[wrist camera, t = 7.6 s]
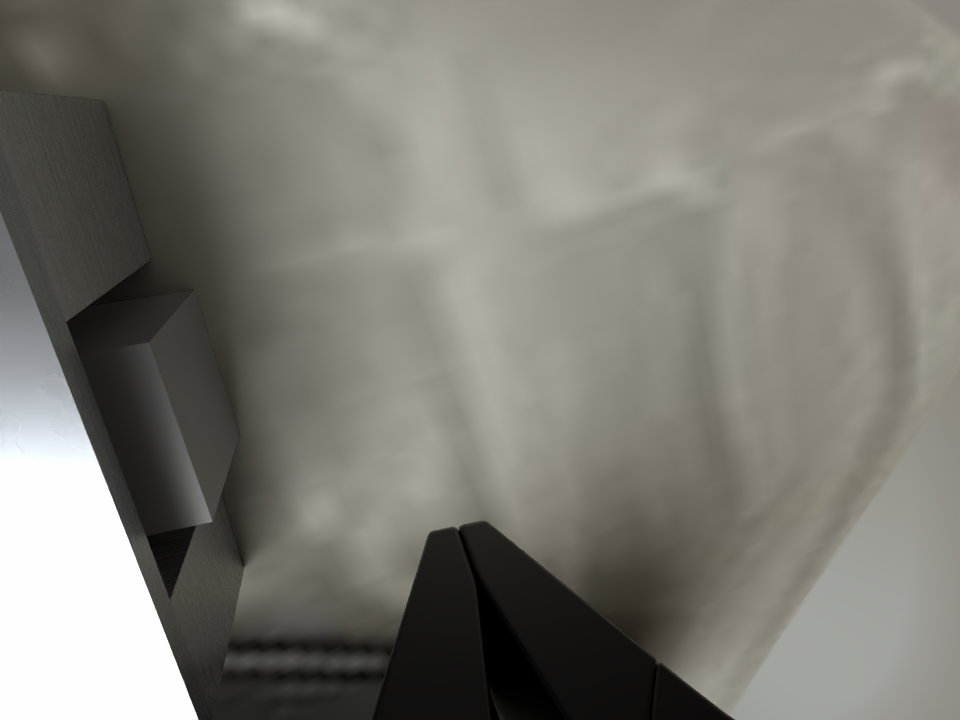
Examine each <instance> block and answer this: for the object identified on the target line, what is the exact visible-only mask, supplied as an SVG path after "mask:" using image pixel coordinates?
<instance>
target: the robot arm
mask: <svg viewBox="0 0 960 720" xmlns="http://www.w3.org/2000/svg"><path fill="white" fill-rule="evenodd" d="M490 692H491V695H490ZM491 696H492V699H493V702H494V705H495V707H496V710H497V713H498V715H497V716H494V717H493V713H492V704H491ZM371 720H734V719H733V718H732V717H730V716H729V715H727V714H726V713H725V712H723V711H722V710H721V709H719V708H718V707H717V706H715V705H714V704H713V703H712V702H710V701H709V700H708V699H706V698H705V697H704V696H702V695H701V694H700V693H699V692H697V691H696V690H695V689H693V688H692V687H691V686H689V685H688V684H687V683H686V682H684V681H683V680H682V679H681V678H679V677H678V676H677V675H676V674H675V673H673V672H672V671H671V670H670V669H668V668H667V667H666V666H665V665H663V664H662V663H658V664H657V660H656V658H654V657H653V656H652V655H651V654H650V653H648V652H647V651H646V650H645V649H643V648H642V647H641V646H640V645H639V644H637V643H636V642H635V641H634V640H632V639H631V638H630V637H629V636H627V635H626V634H625V633H624V632H623V631H621V630H620V629H619V628H618V627H616V626H615V625H614V624H613V623H611V622H610V621H609V620H608V619H607V618H605V617H604V616H603V615H602V614H600V613H599V612H598V611H597V610H595V609H594V608H593V607H592V606H591V605H589V604H588V603H587V602H586V601H584V600H583V599H582V598H581V597H579V596H578V595H577V594H576V593H575V592H573V591H572V590H571V589H570V588H568V587H567V586H566V585H565V584H563V583H562V582H561V581H560V580H559V579H557V578H556V577H555V576H554V575H552V574H551V573H550V572H549V571H547V570H546V569H545V568H544V567H543V566H541V565H540V564H539V563H538V562H536V561H535V560H534V559H533V558H531V557H530V556H529V555H528V554H527V553H525V552H524V551H523V550H522V549H520V548H519V547H518V546H517V545H515V544H514V543H513V542H512V541H511V540H509V539H508V538H507V537H506V536H504V535H503V534H502V533H501V532H499V531H498V530H497V529H496V528H495V527H493V526H492V525H491V524H490V523H488V522H486V521H478V522H473V523H468V524H464V525H461V526H460V527H459V530H458V529H457V528H455V527H449V528H444V529H440V530H435V531H431V532H430V533H429V535H428V537H427V540H426V543H425V547H424V550H423V553H422V556H421V560H420V563H419V566H418V569H417V573H416V576H415V579H414V582H413V585H412V589H411V592H410V595H409V598H408V602H407V605H406V608H405V611H404V615H403V618H402V621H401V624H400V628H399V631H398V634H397V637H396V641H395V644H394V647H393V650H392V653H391V657H390V660H389V663H388V666H387V670H386V673H385V676H384V679H383V683H382V686H381V689H380V692H379V696H378V699H377V702H376V705H375V709H374V712H373V715H372V718H371Z"/></svg>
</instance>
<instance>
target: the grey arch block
mask: <svg viewBox="0 0 960 720" xmlns="http://www.w3.org/2000/svg"><path fill="white" fill-rule="evenodd" d="M150 260H151V258H150V254H149V251H148V248H147V244H146V241H145V238H144V234H143V231H142V228H141V224H140V221H139V218H138V214H137V211H136V208H135V204H134V201H133V198H132V194H131V191H130V187H129V184H128V181H127V177H126V174H125V171H124V167H123V164H122V161H121V157H120V154H119V151H118V147H117V144H116V141H115V137H114V134H113V131H112V127H111V124H110V121H109V117H108V114H107V111H106V107H105V104H104V101H103V100H97V99H86V98H76V97H65V96H55V95H44V94H34V93H24V92H13V91H3V90H0V720H213V715H214V710H215V705H216V701H217V696H218V691H219V686H220V681H221V677H222V672H223V667H224V662H225V658H226V653H227V648H228V643H229V638H230V634H231V629H232V624H233V619H234V615H235V610H236V605H237V600H238V595H239V591H240V586H241V581H242V576H243V572H244V568H243V564H242V561H241V558H240V554H239V551H238V548H237V544H236V541H235V538H234V534H233V531H232V528H231V524H230V521H229V518H228V514H227V511H226V508H225V504H224V501H223V498H222V494H221V497H220V500H219V503H218V506H217V509H216V512H215V516H214V519H213V522H209V523H204V524H200V525H195V526H190V527H186V528H181V529H177V530H172V531H167V532H163V533H158V534H154V535H149V536H146V534H145V532H144V529H143V526H142V524H141V521H140V518H139V516H138V513H137V510H136V508H135V505H134V502H133V500H132V497H131V494H130V492H129V489H128V486H127V484H126V481H125V478H124V475H123V473H122V470H121V467H120V465H119V462H118V459H117V457H116V454H115V451H114V449H113V446H112V443H111V441H110V438H109V435H108V433H107V430H106V427H105V425H104V422H103V419H102V417H101V414H100V411H99V409H98V406H97V403H96V401H95V398H94V395H93V392H92V390H91V387H90V384H89V382H88V379H87V376H86V374H85V371H84V368H83V366H82V363H81V360H80V358H79V355H78V352H77V350H76V347H75V344H74V342H73V339H72V336H71V334H70V331H69V328H68V326H67V323H66V321H68V320H69V319H71V318H72V317H73V316H75V315H76V314H77V313H79V312H80V311H81V310H83V309H84V308H86V307H87V306H88V305H90V304H91V303H92V302H94V301H95V300H96V299H98V298H99V297H101V296H102V295H103V294H105V293H106V292H107V291H109V290H110V289H111V288H113V287H114V286H116V285H117V284H118V283H120V282H121V281H122V280H124V279H125V278H126V277H128V276H129V275H130V274H132V273H133V272H135V271H136V270H137V269H139V268H140V267H141V266H143V265H144V264H145V263H147V262H148V261H150Z"/></svg>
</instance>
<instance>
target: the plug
mask: <svg viewBox="0 0 960 720" xmlns="http://www.w3.org/2000/svg"><path fill="white" fill-rule="evenodd" d="M66 323H67V326H68V328H69V331H70V334H71V336H72V339H73V342H74V344H75V347H76V350H77V352H78V355H79V358H80V360H81V363H82V366H83V368H84V371H85V374H86V376H87V379H88V382H89V384H90V387H91V390H92V392H93V395H94V398H95V401H96V403H97V406H98V409H99V411H100V414H101V417H102V419H103V422H104V425H105V427H106V430H107V433H108V435H109V438H110V441H111V443H112V446H113V449H114V451H115V454H116V457H117V459H118V462H119V465H120V467H121V470H122V473H123V475H124V478H125V481H126V484H127V486H128V489H129V492H130V494H131V497H132V500H133V502H134V505H135V508H136V510H137V513H138V516H139V518H140V521H141V524H142V526H143V529H144V532H145V534H146V536H149V535H154V534H158V533H163V532H167V531H172V530H177V529H181V528H186V527H190V526H195V525H200V524H204V523H209V522H213V519H214V516H215V512H216V509H217V506H218V503H219V500H220V497H221V493H222V490H223V487H224V484H225V481H226V478H227V474H228V471H229V468H230V465H231V462H232V459H233V455H234V452H235V449H236V446H237V443H238V439H239V436H240V434H239V431H238V428H237V424H236V421H235V418H234V415H233V412H232V408H231V405H230V402H229V399H228V396H227V392H226V389H225V386H224V383H223V380H222V376H221V373H220V370H219V367H218V364H217V360H216V357H215V354H214V351H213V348H212V344H211V341H210V338H209V335H208V332H207V328H206V325H205V322H204V319H203V315H202V312H201V309H200V306H199V303H198V299H197V296H196V293H195V290H190V291H184V292H177V293H171V294H164V295H158V296H151V297H145V298H139V299H132V300H126V301H119V302H113V303H106V304H100V305H94V306H87V307H86V308H84V309H83V310H81V311H80V312H79V313H77V314H76V315H75V316H73V317H72V318H71V319H69V320H68V321H66Z"/></svg>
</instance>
